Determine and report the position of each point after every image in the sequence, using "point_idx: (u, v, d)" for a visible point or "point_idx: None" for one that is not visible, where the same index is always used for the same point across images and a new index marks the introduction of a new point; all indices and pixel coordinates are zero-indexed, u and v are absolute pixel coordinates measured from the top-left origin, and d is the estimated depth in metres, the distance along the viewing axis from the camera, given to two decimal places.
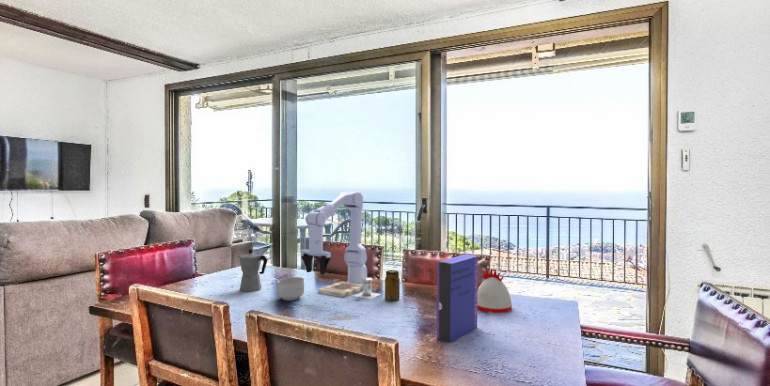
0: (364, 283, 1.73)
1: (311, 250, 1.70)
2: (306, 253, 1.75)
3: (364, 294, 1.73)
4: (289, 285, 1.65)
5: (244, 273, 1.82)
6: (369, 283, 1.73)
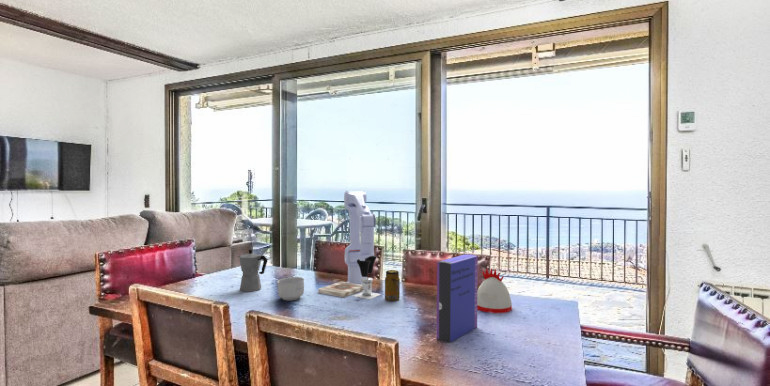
0: (364, 283, 1.73)
1: None
2: None
3: (364, 294, 1.73)
4: (289, 285, 1.65)
5: (244, 273, 1.82)
6: (369, 283, 1.73)
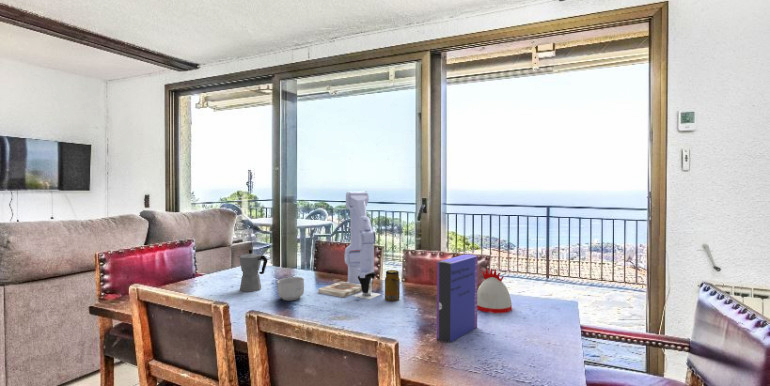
0: None
1: None
2: None
3: (364, 294, 1.73)
4: (289, 285, 1.65)
5: (244, 273, 1.82)
6: (369, 283, 1.73)
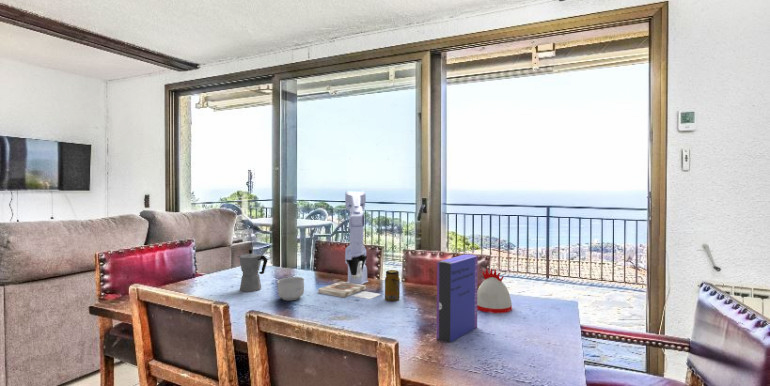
0: None
1: None
2: None
3: (353, 276, 1.76)
4: (289, 285, 1.65)
5: (244, 273, 1.82)
6: (358, 266, 1.76)
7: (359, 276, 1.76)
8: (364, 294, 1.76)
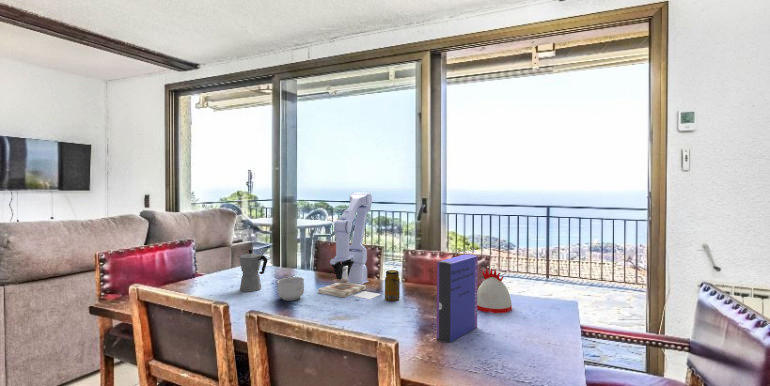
0: None
1: None
2: (348, 258, 1.86)
3: (339, 281, 1.80)
4: (289, 285, 1.65)
5: (244, 273, 1.82)
6: (343, 270, 1.79)
7: (345, 280, 1.80)
8: (364, 294, 1.76)
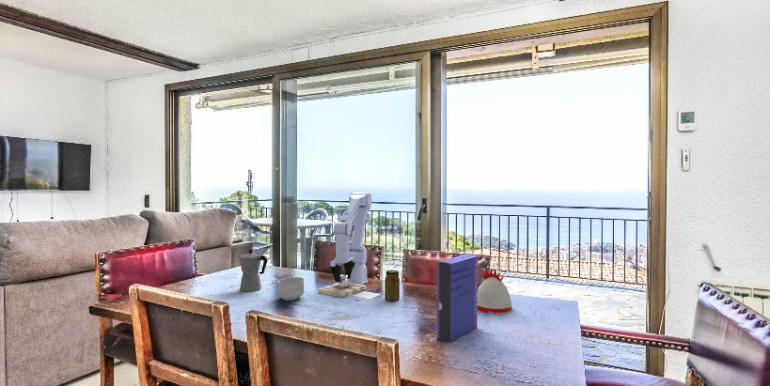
0: None
1: None
2: (348, 260, 1.86)
3: None
4: (289, 285, 1.65)
5: (244, 273, 1.82)
6: (343, 280, 1.79)
7: None
8: (364, 294, 1.76)
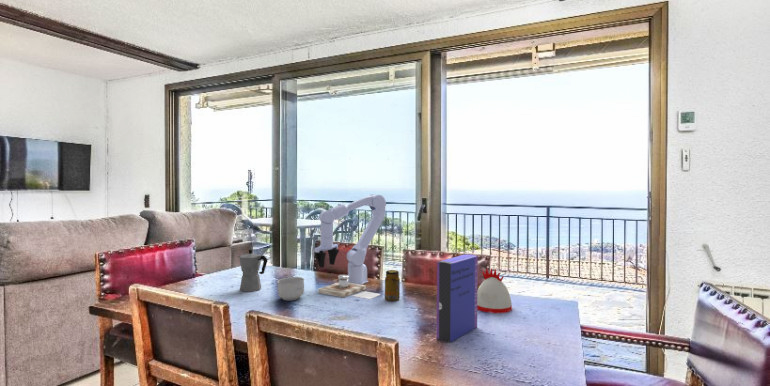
0: (339, 280, 1.80)
1: None
2: (333, 247, 1.95)
3: None
4: (289, 285, 1.65)
5: (244, 273, 1.82)
6: (344, 280, 1.79)
7: None
8: (364, 294, 1.76)
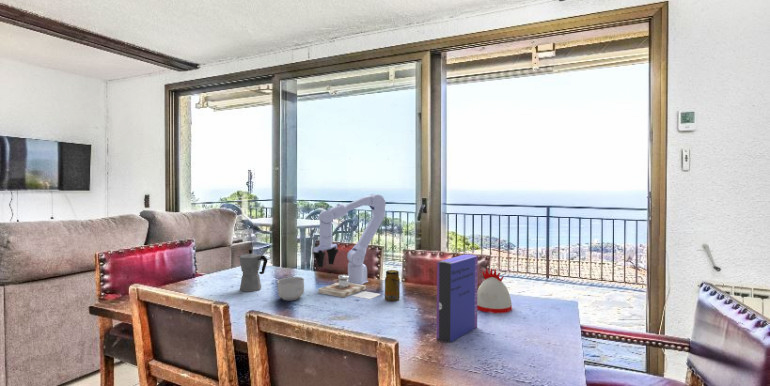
0: (339, 280, 1.80)
1: None
2: None
3: None
4: (289, 285, 1.65)
5: (244, 273, 1.82)
6: (344, 280, 1.79)
7: None
8: (364, 294, 1.76)
